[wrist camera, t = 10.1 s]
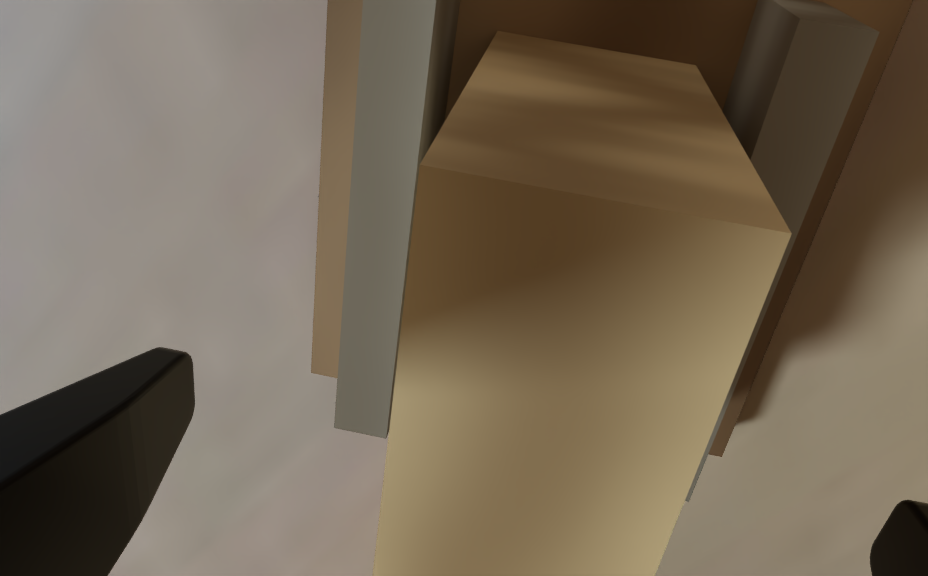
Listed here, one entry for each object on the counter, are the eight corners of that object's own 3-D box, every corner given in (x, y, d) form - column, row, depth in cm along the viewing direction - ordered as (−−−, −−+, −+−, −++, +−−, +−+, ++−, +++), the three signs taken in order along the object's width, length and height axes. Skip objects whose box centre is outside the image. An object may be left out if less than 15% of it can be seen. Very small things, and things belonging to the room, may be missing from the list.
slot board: (909, -47, 14) (1014, -21, 11) (716, 431, 20) (742, 547, 17) (348, -139, 15) (275, -143, 11) (322, 352, 21) (269, 447, 17)
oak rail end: (696, 65, 15) (792, 233, 8) (608, 366, 18) (620, 663, 12) (497, 30, 15) (419, 164, 8) (450, 335, 19) (369, 606, 12)
